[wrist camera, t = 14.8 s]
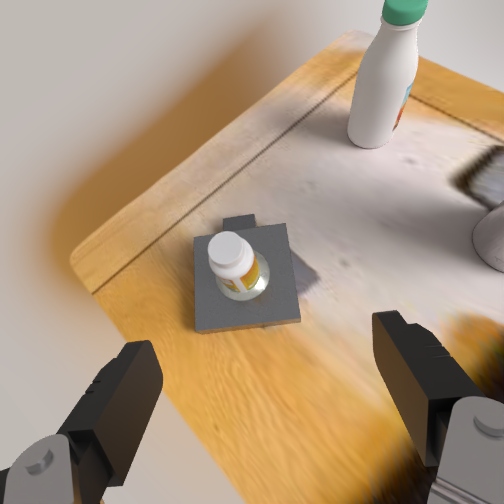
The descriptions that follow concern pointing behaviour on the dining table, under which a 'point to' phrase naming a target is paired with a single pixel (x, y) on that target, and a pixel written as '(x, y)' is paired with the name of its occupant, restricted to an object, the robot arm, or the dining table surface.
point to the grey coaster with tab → (257, 299)
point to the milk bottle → (386, 75)
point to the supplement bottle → (233, 262)
